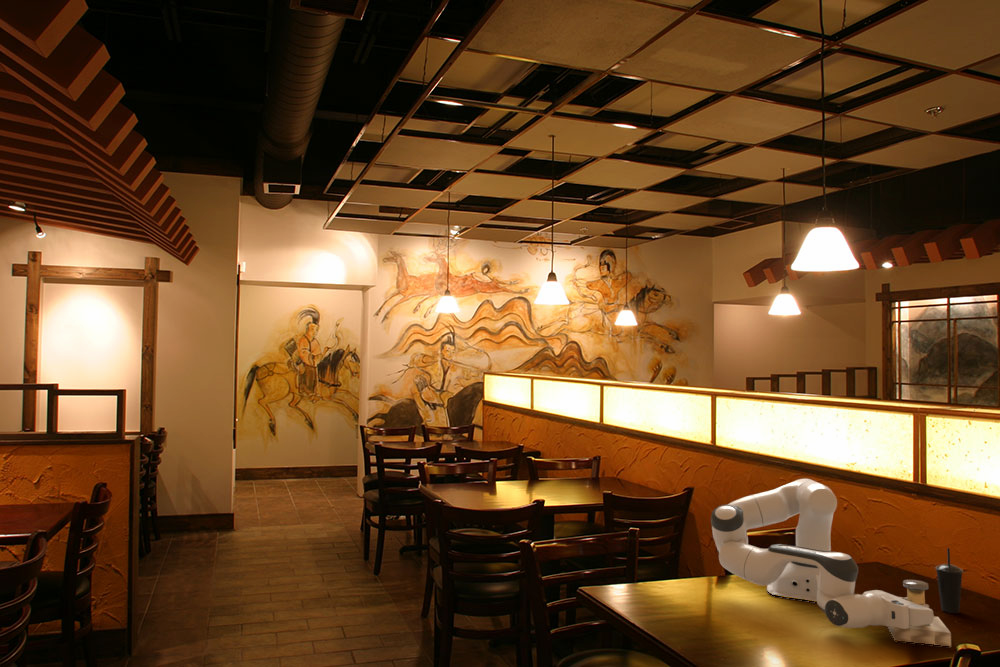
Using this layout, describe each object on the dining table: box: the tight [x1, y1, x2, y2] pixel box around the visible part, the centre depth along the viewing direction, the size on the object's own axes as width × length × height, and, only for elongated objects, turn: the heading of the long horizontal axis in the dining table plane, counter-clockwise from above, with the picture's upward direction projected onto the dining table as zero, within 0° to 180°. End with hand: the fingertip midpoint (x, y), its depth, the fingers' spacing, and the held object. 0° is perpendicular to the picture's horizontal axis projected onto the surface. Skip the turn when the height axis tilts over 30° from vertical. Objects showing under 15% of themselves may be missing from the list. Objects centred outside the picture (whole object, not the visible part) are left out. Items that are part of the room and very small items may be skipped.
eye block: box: [886, 615, 952, 648], centre depth 208 cm, size 14×14×4 cm
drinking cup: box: [935, 547, 964, 614], centre depth 230 cm, size 8×8×20 cm
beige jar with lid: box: [902, 579, 929, 626], centre depth 209 cm, size 6×6×15 cm
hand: (918, 604), depth 209 cm, fingers closed on beige jar with lid, 4 cm apart
